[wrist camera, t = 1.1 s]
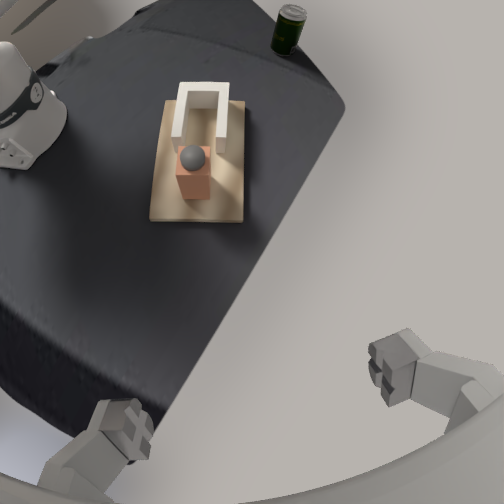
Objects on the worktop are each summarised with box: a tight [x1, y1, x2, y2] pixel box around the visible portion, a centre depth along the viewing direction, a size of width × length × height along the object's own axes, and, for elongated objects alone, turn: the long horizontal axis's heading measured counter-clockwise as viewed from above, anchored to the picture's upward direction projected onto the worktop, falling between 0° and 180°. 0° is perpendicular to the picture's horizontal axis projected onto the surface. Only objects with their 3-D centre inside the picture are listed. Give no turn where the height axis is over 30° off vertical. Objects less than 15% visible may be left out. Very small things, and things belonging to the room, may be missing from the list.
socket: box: [171, 82, 229, 153], centre depth 42 cm, size 8×11×5 cm
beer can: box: [271, 4, 307, 57], centre depth 45 cm, size 5×5×12 cm
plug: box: [175, 145, 211, 200], centre depth 38 cm, size 4×4×10 cm
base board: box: [149, 100, 245, 223], centre depth 44 cm, size 14×22×2 cm, turn 0°
